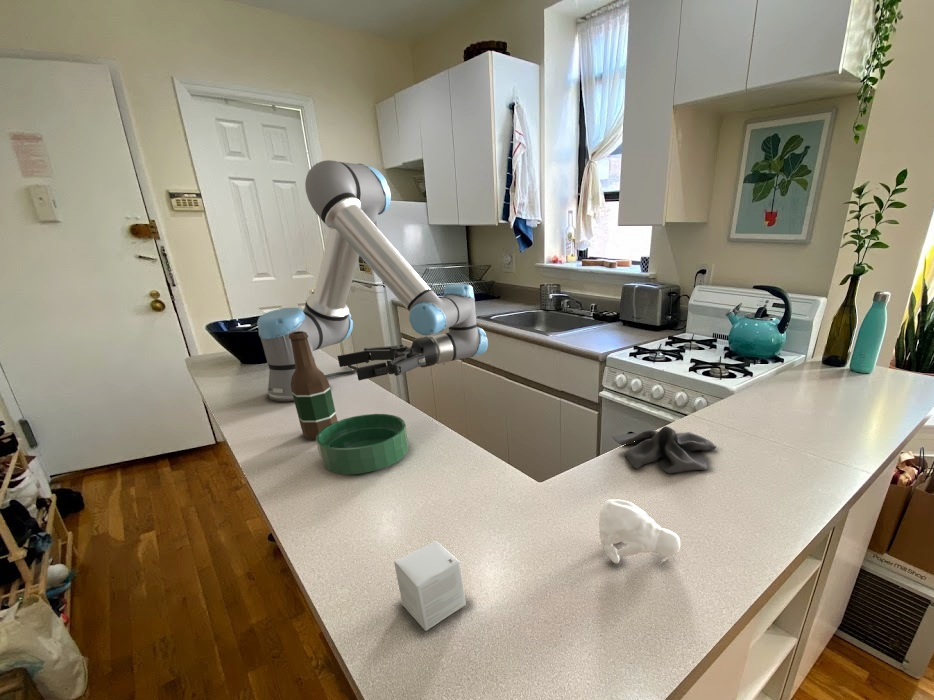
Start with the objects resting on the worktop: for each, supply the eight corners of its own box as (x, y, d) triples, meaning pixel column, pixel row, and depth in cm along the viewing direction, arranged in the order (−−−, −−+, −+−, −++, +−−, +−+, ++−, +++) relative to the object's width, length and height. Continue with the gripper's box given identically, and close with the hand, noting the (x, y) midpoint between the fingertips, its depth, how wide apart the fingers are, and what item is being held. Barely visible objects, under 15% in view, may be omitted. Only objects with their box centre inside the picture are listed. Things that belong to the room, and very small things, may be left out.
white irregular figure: (604, 487, 69) (686, 503, 67) (598, 533, 72) (675, 549, 70) (598, 512, 63) (688, 530, 61) (591, 560, 67) (676, 578, 65)
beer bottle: (304, 429, 111) (279, 330, 101) (340, 424, 113) (318, 327, 104) (301, 443, 104) (274, 338, 95) (339, 437, 107) (316, 334, 97)
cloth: (717, 439, 102) (720, 414, 100) (713, 481, 86) (718, 452, 84) (618, 426, 109) (619, 402, 107) (598, 463, 93) (598, 436, 91)
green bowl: (348, 436, 107) (343, 413, 104) (420, 438, 105) (417, 414, 103) (305, 475, 91) (297, 448, 89) (389, 478, 90) (384, 450, 87)
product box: (442, 581, 64) (436, 538, 61) (467, 605, 60) (461, 561, 57) (401, 605, 60) (392, 560, 57) (424, 633, 56) (416, 586, 53)
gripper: (456, 375, 113) (369, 396, 101) (413, 355, 131) (335, 371, 118) (453, 345, 110) (363, 363, 98) (409, 328, 128) (328, 342, 115)
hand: (347, 367), depth 108 cm, fingers open, 13 cm apart
